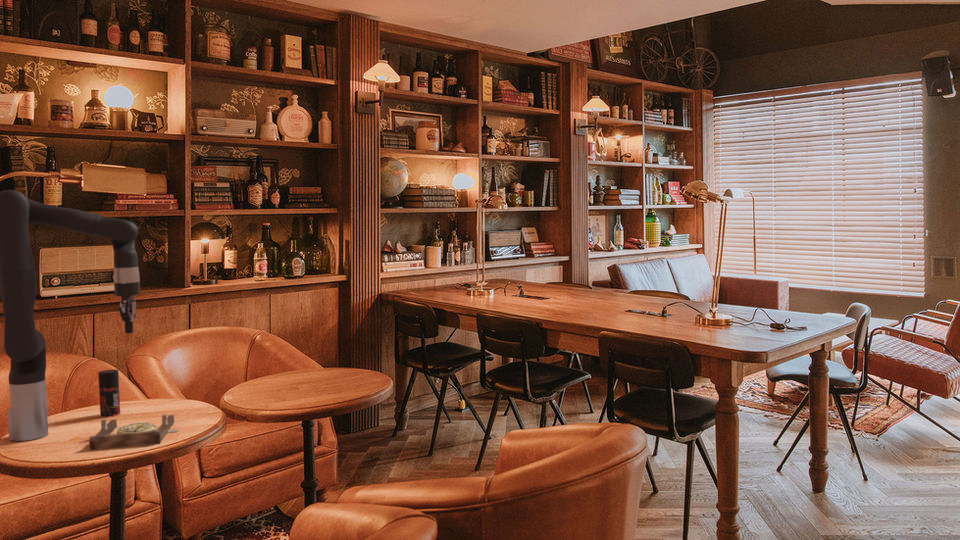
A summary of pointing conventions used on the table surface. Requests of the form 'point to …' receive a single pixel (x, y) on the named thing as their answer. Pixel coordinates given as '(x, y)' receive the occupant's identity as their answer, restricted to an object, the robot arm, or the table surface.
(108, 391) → the deodorant
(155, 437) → the u-shaped frame
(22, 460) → the table surface
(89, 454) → the table surface
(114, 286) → the robot arm
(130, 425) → the decorated donut
